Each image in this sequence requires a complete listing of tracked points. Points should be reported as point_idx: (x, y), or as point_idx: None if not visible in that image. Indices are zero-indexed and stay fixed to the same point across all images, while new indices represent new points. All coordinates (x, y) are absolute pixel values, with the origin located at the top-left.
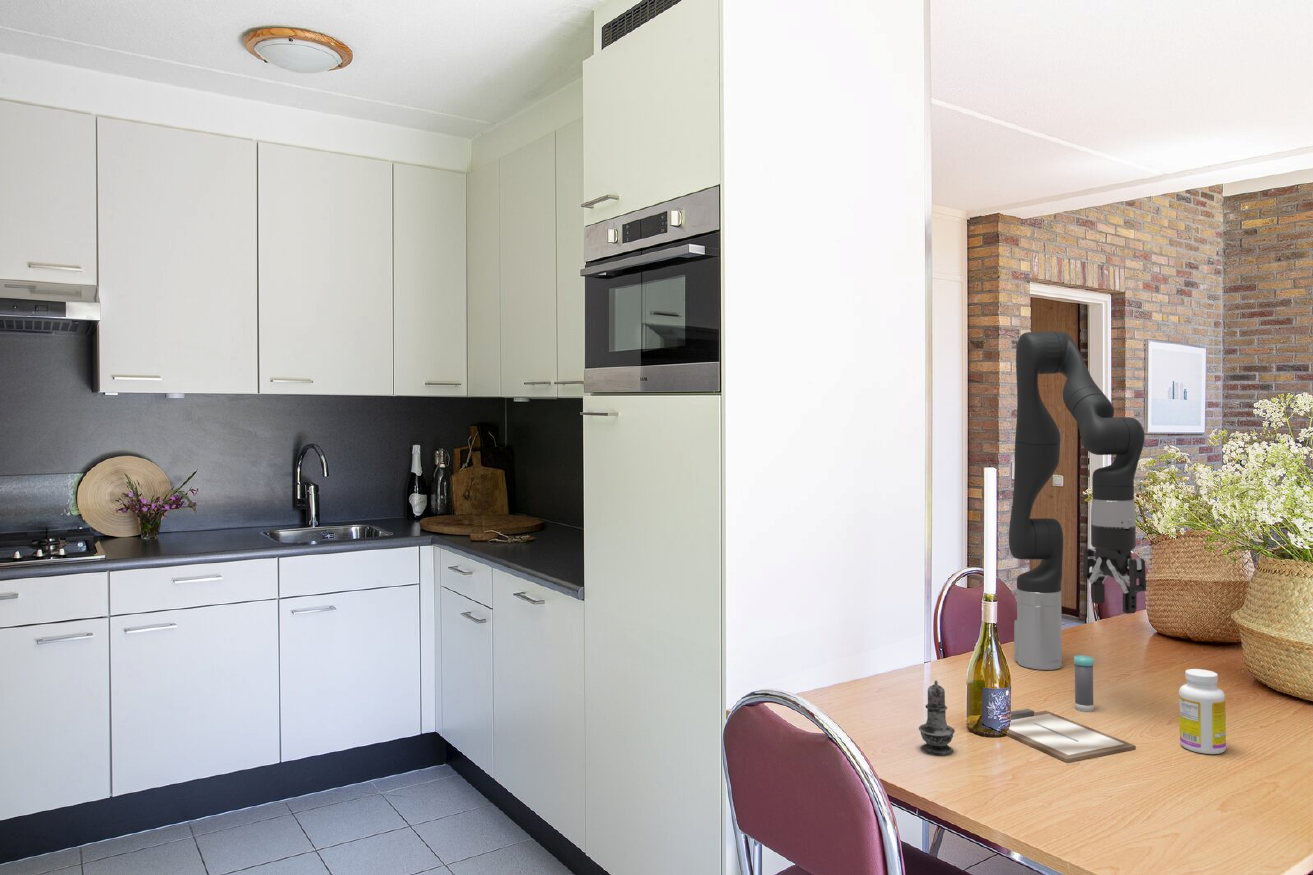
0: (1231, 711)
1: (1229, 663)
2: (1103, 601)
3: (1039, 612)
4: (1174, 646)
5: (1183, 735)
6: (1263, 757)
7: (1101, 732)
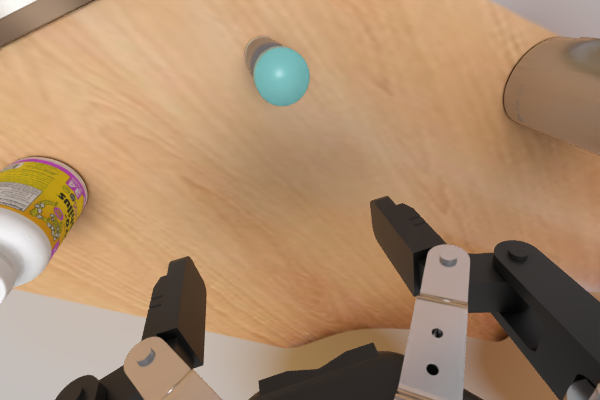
0: (260, 280)
1: None
2: (375, 236)
3: None
4: None
5: (15, 165)
6: None
7: (61, 12)
